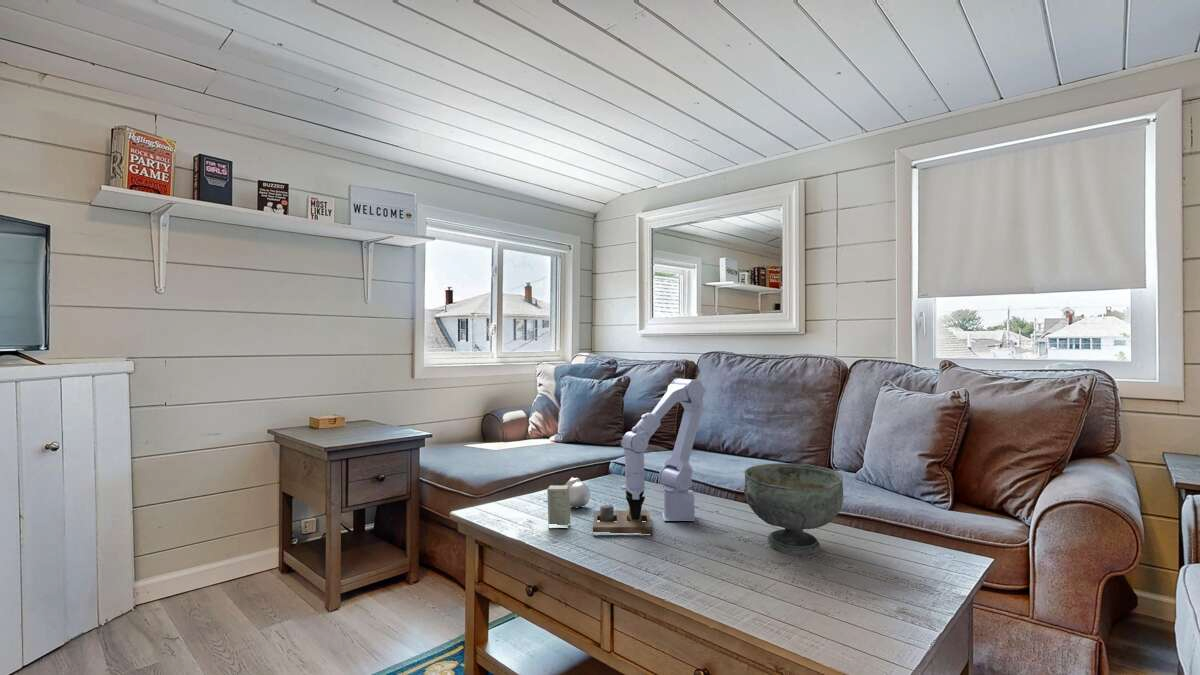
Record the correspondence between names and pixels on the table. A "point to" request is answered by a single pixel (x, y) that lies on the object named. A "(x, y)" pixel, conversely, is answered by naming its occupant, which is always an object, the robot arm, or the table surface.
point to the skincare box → (558, 504)
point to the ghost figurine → (578, 492)
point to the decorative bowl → (794, 502)
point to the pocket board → (620, 521)
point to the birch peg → (631, 517)
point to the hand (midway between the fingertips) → (635, 517)
